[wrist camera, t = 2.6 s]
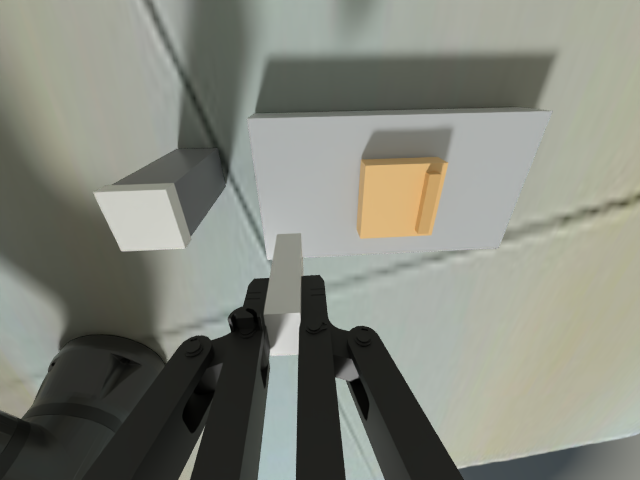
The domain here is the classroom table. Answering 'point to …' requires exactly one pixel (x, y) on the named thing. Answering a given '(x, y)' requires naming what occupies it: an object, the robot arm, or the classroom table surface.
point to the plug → (163, 200)
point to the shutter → (399, 196)
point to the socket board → (384, 143)
